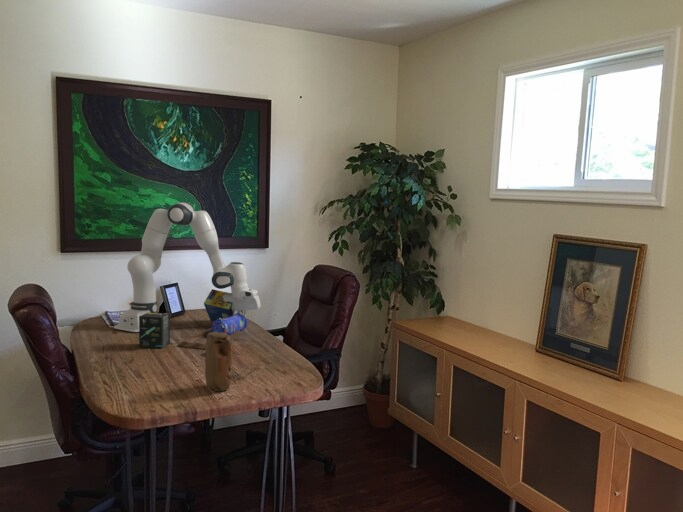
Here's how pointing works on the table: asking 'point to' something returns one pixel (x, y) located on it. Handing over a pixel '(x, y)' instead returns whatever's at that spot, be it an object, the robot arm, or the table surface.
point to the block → (218, 361)
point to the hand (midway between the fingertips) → (243, 318)
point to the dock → (191, 341)
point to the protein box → (218, 306)
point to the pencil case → (230, 324)
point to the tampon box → (154, 330)
